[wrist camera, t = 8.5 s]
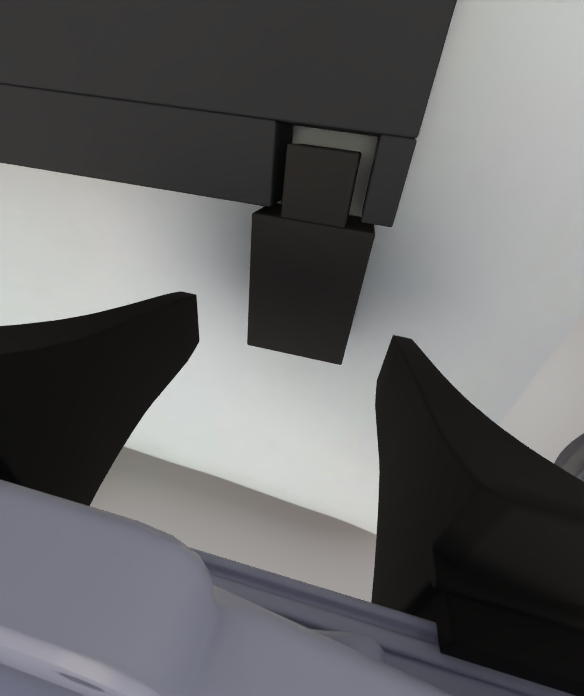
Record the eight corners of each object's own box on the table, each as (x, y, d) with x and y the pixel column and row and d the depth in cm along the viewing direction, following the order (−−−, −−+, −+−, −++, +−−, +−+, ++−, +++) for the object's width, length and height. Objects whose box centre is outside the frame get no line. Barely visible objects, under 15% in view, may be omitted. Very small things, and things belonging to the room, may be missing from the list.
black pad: (390, 156, 13) (394, 158, 10) (345, 335, 18) (341, 365, 16) (275, 140, 14) (254, 138, 11) (263, 318, 19) (246, 345, 16)
